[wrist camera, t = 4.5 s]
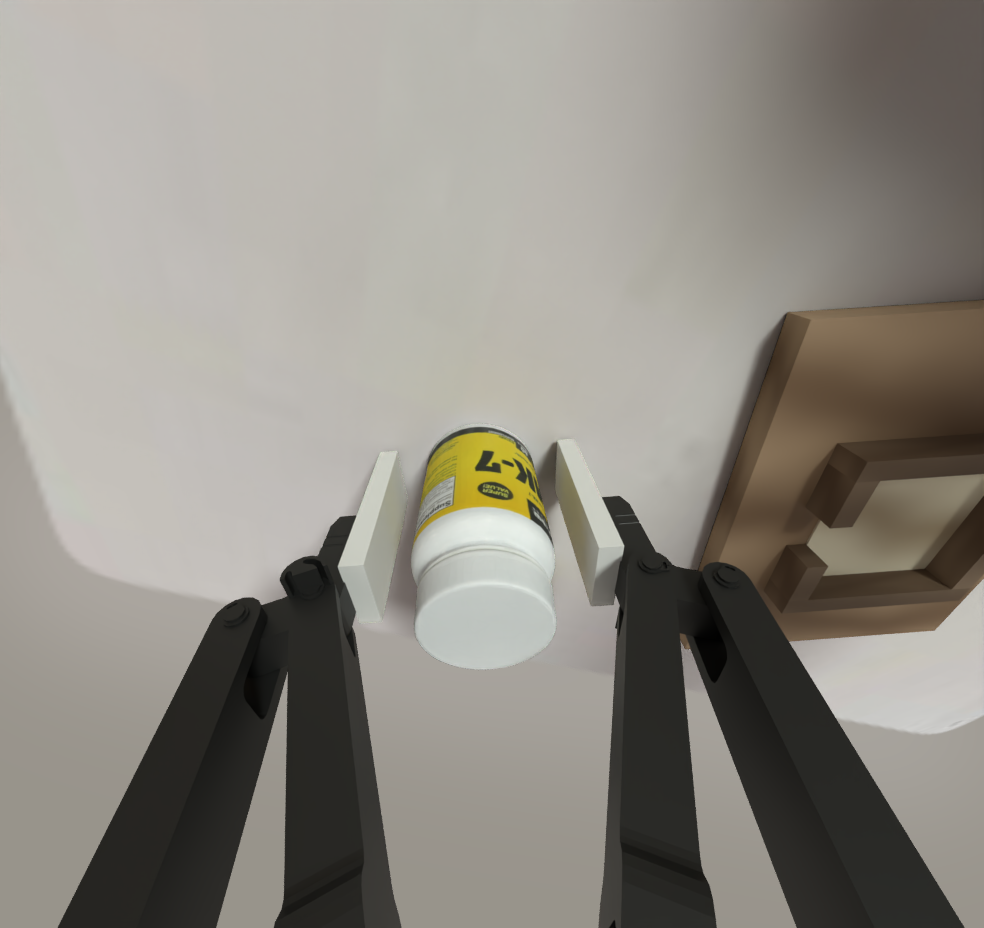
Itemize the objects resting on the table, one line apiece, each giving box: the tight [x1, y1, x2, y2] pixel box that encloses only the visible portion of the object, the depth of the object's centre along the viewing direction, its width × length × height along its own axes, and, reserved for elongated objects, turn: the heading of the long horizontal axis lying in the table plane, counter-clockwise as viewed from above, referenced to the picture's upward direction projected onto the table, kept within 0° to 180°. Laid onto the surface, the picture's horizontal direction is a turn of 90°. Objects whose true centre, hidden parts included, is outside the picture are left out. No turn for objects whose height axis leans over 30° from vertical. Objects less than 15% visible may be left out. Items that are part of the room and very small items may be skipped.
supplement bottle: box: [411, 423, 557, 670], centre depth 14 cm, size 5×5×8 cm
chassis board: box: [680, 300, 984, 649], centre depth 19 cm, size 20×16×3 cm
